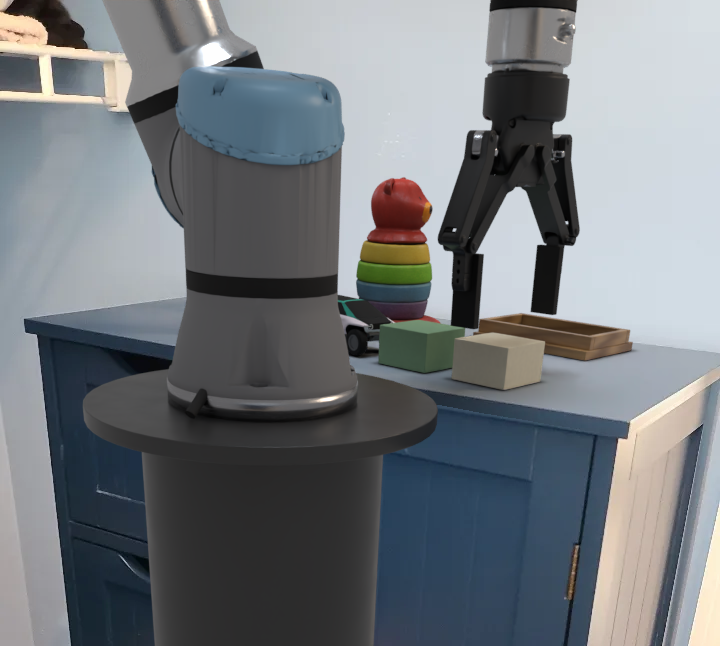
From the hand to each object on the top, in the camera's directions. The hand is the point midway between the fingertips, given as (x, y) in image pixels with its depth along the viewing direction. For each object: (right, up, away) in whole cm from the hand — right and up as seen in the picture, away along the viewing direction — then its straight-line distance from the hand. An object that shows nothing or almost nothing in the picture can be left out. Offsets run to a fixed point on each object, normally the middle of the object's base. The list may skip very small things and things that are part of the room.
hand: (505, 320), depth 94 cm
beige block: (-1, -5, +3) cm, 6 cm away
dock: (+9, +5, +23) cm, 25 cm away
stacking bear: (-10, +7, +26) cm, 29 cm away
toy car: (-16, +2, +16) cm, 23 cm away
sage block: (-8, -2, +8) cm, 12 cm away
